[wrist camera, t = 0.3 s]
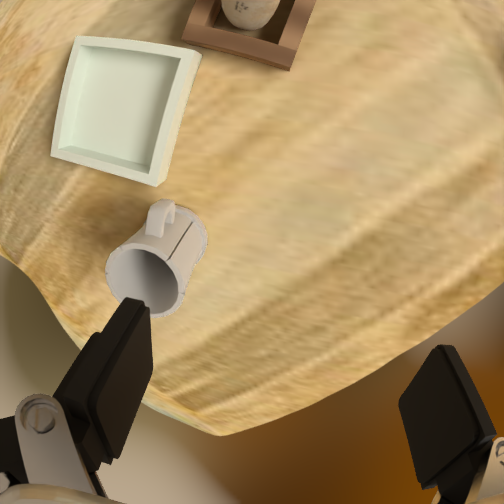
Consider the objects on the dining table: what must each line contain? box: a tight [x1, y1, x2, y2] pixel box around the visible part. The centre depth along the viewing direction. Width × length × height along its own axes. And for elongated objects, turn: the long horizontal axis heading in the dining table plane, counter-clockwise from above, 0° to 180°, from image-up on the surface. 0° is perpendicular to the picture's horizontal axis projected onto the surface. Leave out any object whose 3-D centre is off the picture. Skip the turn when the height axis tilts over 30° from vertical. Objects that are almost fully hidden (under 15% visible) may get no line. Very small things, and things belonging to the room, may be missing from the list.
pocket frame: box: [181, 0, 316, 71], centre depth 26 cm, size 12×12×4 cm
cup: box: [105, 199, 207, 318], centre depth 35 cm, size 10×9×12 cm
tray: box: [51, 36, 203, 187], centre depth 32 cm, size 16×16×4 cm
